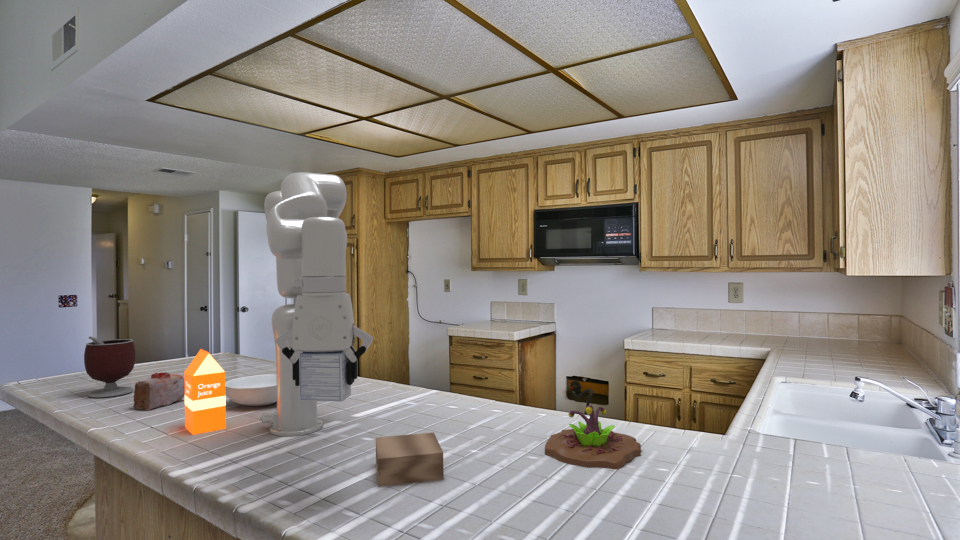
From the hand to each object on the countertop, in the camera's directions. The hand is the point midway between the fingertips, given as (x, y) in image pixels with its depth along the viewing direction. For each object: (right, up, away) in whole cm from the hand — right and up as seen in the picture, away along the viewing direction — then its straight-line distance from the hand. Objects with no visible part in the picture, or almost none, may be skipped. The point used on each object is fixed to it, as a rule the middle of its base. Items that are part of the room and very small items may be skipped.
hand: (325, 383), depth 91 cm
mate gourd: (-96, -21, +78) cm, 126 cm away
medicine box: (0, -3, 0) cm, 3 cm away
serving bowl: (-39, -20, +64) cm, 78 cm away
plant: (+52, -20, +19) cm, 59 cm away
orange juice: (-43, -20, +39) cm, 61 cm away
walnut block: (+14, -20, +9) cm, 26 cm away
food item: (-69, -21, +63) cm, 96 cm away
